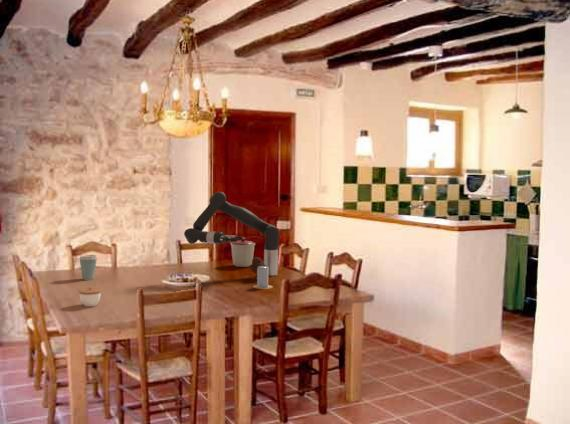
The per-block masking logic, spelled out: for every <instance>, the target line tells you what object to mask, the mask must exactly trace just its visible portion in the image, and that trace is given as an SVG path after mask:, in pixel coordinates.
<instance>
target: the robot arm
mask: <svg viewBox="0 0 570 424" xmlns="http://www.w3.org/2000/svg"><path fill="white" fill-rule="evenodd" d="M217 211H220V212H222V213H225V214H227V215H228V216H230V217H232V218H234V219H235V220H237V221H238V222H240V223H242V224H243V225H244V226H247V227H249V228H251V229H254V230H256V231H257V232H259V233H260V234H262V235H263V236H264V237H265V239H264V240H265V241H264V242H265V243H264V246H263V249H264V251H263V261H264V265H267V267H268V268H269V271H268V277H269V276H270V277H271V276H278V265H279V263H278V261H279V260H278V259H279V258H278V257H279V254H278V253H279V245H280V244H279V243H280V230H279V229H278V227H277V226H275V225H273V224H270V223H267V222H265V221H264V220H262V219H260V218H259V217H258V216H257V215H256V214H254V213H253V212H252V211H251V210H248V209H246V208H244V207H242V206H238V205H235V204H233V203H230V202H228V201H227V196H226V194H225V193H224V192H222V191H217V192H214V193H213V194H212V195H211V196H210V198H209V204H208V205H207V207H205V209H204V210H203V211H202V213H200V214H199V216H198V217H197V218H196V220H195V221H194V223H192V227H190V228H187V229H185V231H184V232H183V235H184V237H185V239H186V241H187V242H188V244H191V245H194V244H196V243H197V242H198V241H199V242H200V243H205V244H206V243H208V244H213V245H215V244H216V245H223V244H224V243H232V242H237V241H241V240H242V237H243V236H241V235H240V236H238V235H234V234H233V235H232V234H225V233H224V232H222V231H215V230H214V231H203V230H204V229H205V228H206V226H207V225H208V224H209V222H210V220H211V219H212V217H214V214H215V213H216V212H217Z"/></svg>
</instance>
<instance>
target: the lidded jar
mask: <svg viewBox="0 0 570 424" xmlns="http://www.w3.org/2000/svg"><path fill="white" fill-rule="evenodd" d="M78 294H79V296H78V297H79V300H80V303H81V304H82V305H83V306H84V307H95V306H97V304H98V303H99V302H100V300H101V296H102V295H101V294H102V289H100V288H93V287H91V286H89V287H87V288H82V289H80V290H79V291H78Z"/></svg>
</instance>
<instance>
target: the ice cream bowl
mask: <svg viewBox="0 0 570 424" xmlns="http://www.w3.org/2000/svg"><path fill="white" fill-rule="evenodd" d="M259 266H267V265H264V260H262V258H260V257H257V256H256V257H253V260H252V264H251V265H250V266H249V267H250V270H251V272H252V273H254V275H255V274H256V275H257V268H258V267H259ZM254 280H255V281H257V277H256V278H254Z"/></svg>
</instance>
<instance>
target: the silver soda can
mask: <svg viewBox="0 0 570 424" xmlns="http://www.w3.org/2000/svg"><path fill="white" fill-rule="evenodd" d="M268 271H269V268H268V267H267V266H259V267H258V268H257V274H256V278H257V280H256V285H257V287H259V288H267V287H268V285H269V275H268Z"/></svg>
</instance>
